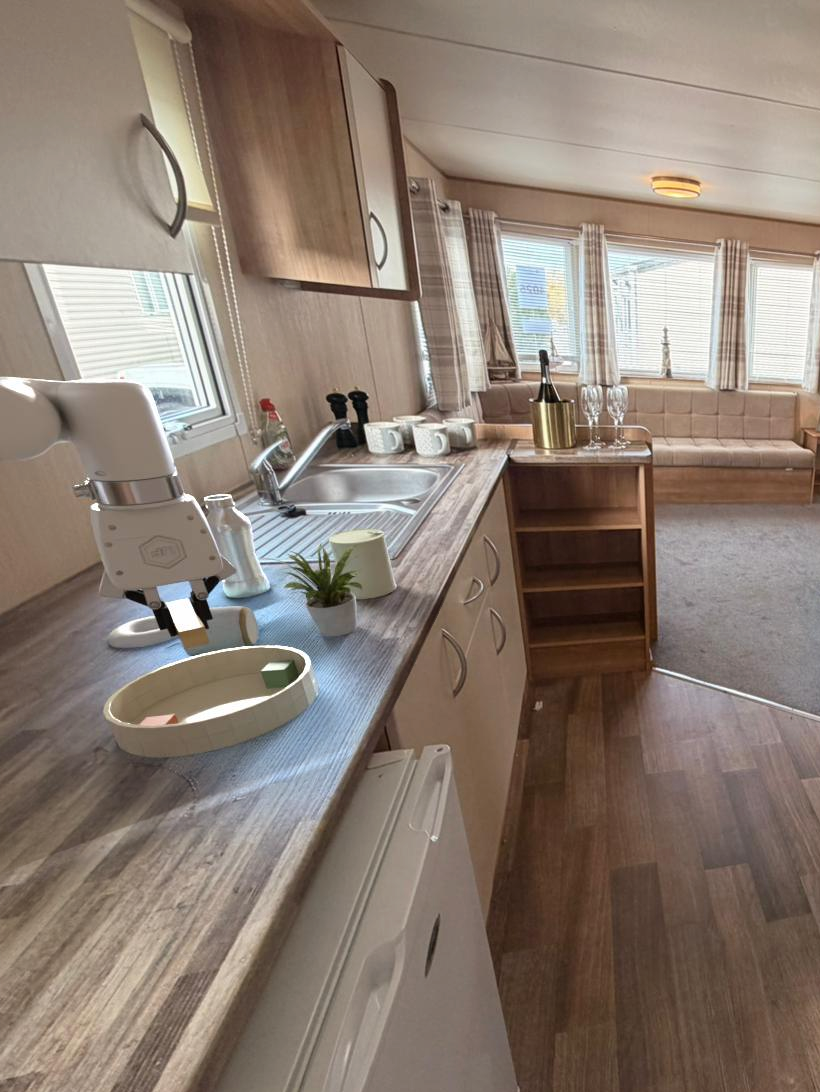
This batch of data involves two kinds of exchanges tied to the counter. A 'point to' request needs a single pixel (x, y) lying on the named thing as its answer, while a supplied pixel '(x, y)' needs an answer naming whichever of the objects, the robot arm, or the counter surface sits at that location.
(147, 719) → the terracotta block
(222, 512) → the plastic bottle
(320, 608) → the house plant
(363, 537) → the cream tapered cylinder
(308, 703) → the bowl
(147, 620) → the donut
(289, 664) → the sage block
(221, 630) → the grey short cylinder
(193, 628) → the long ochre block
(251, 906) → the counter surface
